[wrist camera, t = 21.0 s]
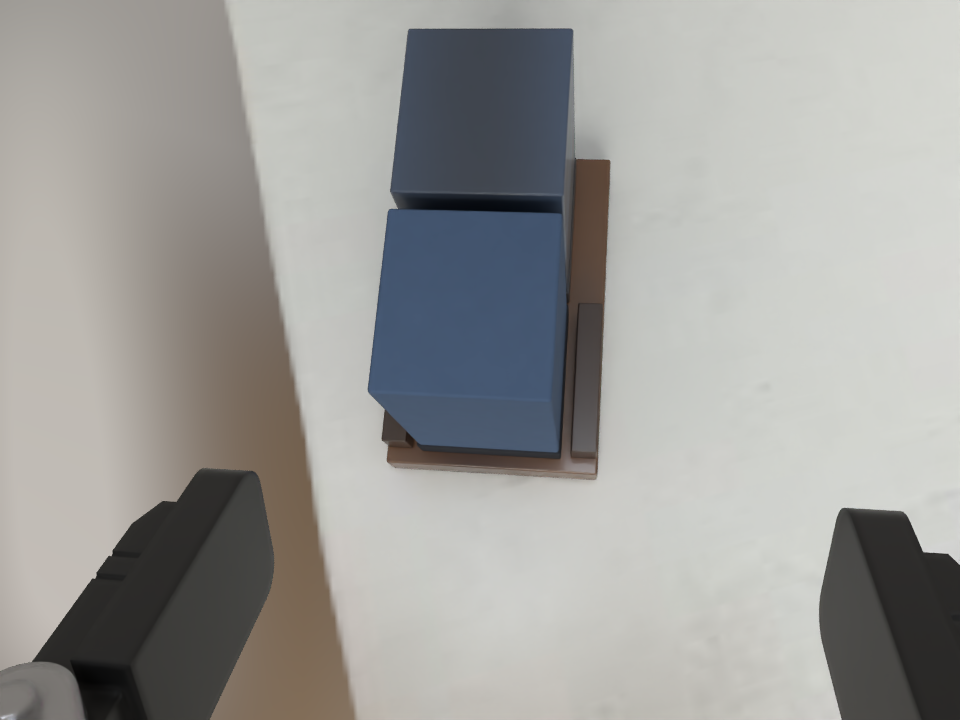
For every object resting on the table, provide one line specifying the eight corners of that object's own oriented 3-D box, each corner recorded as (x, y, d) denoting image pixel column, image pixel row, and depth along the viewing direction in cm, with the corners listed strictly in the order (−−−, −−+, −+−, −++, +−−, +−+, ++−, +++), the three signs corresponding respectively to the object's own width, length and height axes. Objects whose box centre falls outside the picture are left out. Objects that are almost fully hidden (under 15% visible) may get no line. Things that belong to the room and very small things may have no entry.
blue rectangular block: (568, 312, 30) (565, 210, 22) (560, 459, 28) (553, 404, 21) (435, 307, 30) (385, 205, 22) (421, 451, 29) (363, 394, 21)
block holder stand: (609, 175, 32) (620, 10, 23) (596, 480, 29) (603, 425, 20) (423, 171, 33) (365, 11, 24) (393, 467, 30) (315, 409, 21)
